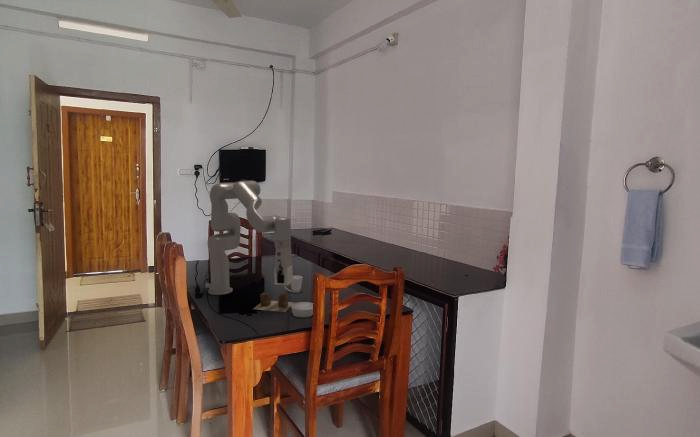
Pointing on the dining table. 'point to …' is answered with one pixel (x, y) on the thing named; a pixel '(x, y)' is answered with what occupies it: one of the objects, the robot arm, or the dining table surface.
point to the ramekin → (302, 309)
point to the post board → (271, 304)
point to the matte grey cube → (287, 276)
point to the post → (283, 300)
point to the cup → (296, 284)
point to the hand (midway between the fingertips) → (283, 280)
